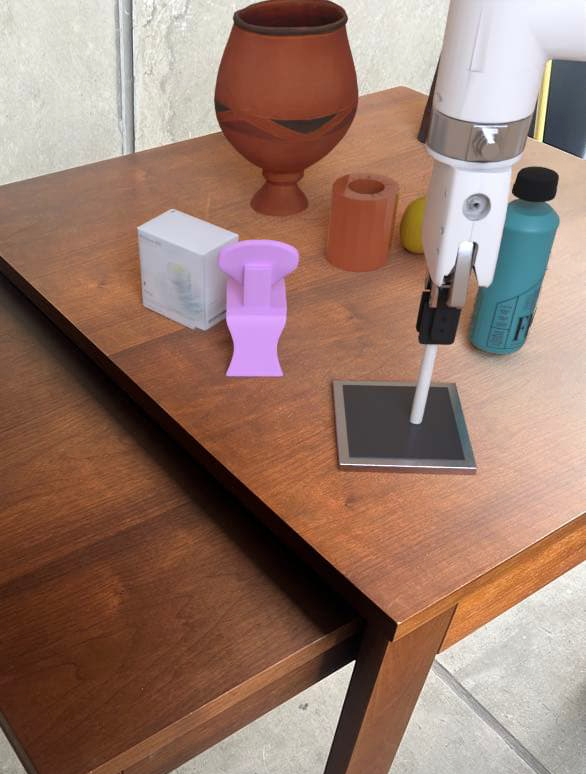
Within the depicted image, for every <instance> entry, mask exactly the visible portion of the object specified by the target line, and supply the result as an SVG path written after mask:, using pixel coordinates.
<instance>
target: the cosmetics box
mask: <svg viewBox="0 0 586 774" xmlns="http://www.w3.org/2000/svg"><path fill="white" fill-rule="evenodd" d="M136 229H137V231H136V233H137V241H138V243H137V244H138V253H139V269H140V281H141V283H140V284H141V296H142V307H145V308H146V309H148V310H151V311H153V312H155V313H157V314H159V315H161V316H163V317H165V318H167V319H169V320H172V321H174V322H176V323H178V324H180V325H181V326H184V327H185V328H188V329H190V330H192V331H195V330H196V328H197V329H199V330H202V331H207V330H209V329H210V328H212V327H214V326H215V325H217V324H218V323H220V322H222V321H224V320H226V308H227V279H233V278H231V277H230V276H229V275H227V274H225V273H224V272H222V271H221V269H220V268H219V265H218V253H219V252H220V250H221V249H223V248H224V247H226V246H228V245H230V244H233V243H236V242H240V235H239V234H238V233H235V232H233V231H232V230H228V229H226V228H223V227H220V226H217V225H215V224H213V223H211V222H208V221H205V220H203V219H200V218H198V217H195V216H193V215H190V214H188V213H185V212H183V211H180V210H178V209H176V208H170V209H168V210H167V211H164V212H163V213H161V214H159V215H157V216H155V217H153V218H152V219H150V220H148V221H146V222H144V223H143V224H141V225H139V226H137V228H136Z"/></svg>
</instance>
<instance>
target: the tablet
mask: <svg viewBox="0 0 586 774" xmlns="http://www.w3.org/2000/svg"><path fill="white" fill-rule="evenodd" d="M416 386H417V381H389V380H387V381H383V380H344V379H343V380H341V379H339V380H338V379H336V380H335V379H333V380H332V383H331V388H332V389H331V392H332V394H331V395H332V405H333V415H334V416H333V417H334V427H335V428H334V430H335V441H336V443H335V444H336V454H337V467H338V471H339V472H360V473H361V472H363V473H364V472H365V473H400V474H431V475H464V476H465V475H467V476H475V475H476V474H477V472H478V471H477V470H478V466H477V462H476V458H475V454H474V449H473V447H472V443H471V442H472V441H471V438H470V435H469V431H468V426H467V422H466V419H465V415H464V411H463V406H462V403H461V399H460V395H459V391H458V387H457V383H456V382H431V381H430V386H429V391H428V395H427V400H426V404H425V409H424V414H423V418H422V422H421V423H420V424H413V423H411V422H410V416H411V411H412V406H413V401H414V396H415V391H416Z"/></svg>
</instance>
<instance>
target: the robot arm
mask: <svg viewBox="0 0 586 774" xmlns="http://www.w3.org/2000/svg"><path fill="white" fill-rule="evenodd" d="M441 50H442V51H440V54H441V57H440V56H439V57H440V63H439V68H438V74H437V80H436V86H435V92H434V98H433V104H432V110H431V116H430V121H429V127H428V133H427V139H426V143H425V144H424V149H425V152H426V154H427V155H428V156H429V157H431V158H432V159H433V165H432V169H431V174H430V178H429V183H428V188H427V194H426V195H427V199H426V204H425V210H424V216H423V224H422V245H423V250H424V253H423V254H424V257H425V261H426V265H427V266H426V272H425V277H424V284H423V286H424V287H423V288H424V291H423V290H422V292H421V295H420V302H419V307H418V313H417V318H416V323H415V330H416V332H417V333H418V336H417V339H418V343H419V344H420V345H425V344H431V345H438V346H450V345H453V344H454V343H455V341H456V336H457V332H458V327H459V323H460V319H461V314H462V310H463V309H464V308H466V304H467V303H466V302H467V297H468V290H469V283H470V278H471V275H472V270H473V273H474V277H475V279H476V283H477V287H478V286H482V287H483V288H487V287H489V286H490V285H491V283H492V281H493V277H494V272H495V268H496V263H497V258H498V253H499V248H500V243H501V238H502V233H503V228H504V223H505V218H506V212H507V206H508V203H509V200H510V193H511V186H512V185H511V184H512V177H513V176H512V175H513V174H512V173H513V165H515V164H517V163H518V162H520V161H521V160H522V158H523V156H524V152H525V147H526V143H527V140H528V137H529V133H530V128H531V124H532V121H533V117H534V116H533V115H534V113H535V109H536V104H537V101H538V98H539V97H538V96H539V93H540V89H541V85H542V81H543V77H544V73H545V69H546V65H547V63H548V62H549V61H552V60H561V61H575V62H586V0H449V4H448V11H447V16H446V22H445V27H444V34H443V40H442V46H441ZM442 285H450V288H442V289H441V286H442ZM440 290H441V291H440Z"/></svg>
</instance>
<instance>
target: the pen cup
mask: <svg viewBox="0 0 586 774" xmlns="http://www.w3.org/2000/svg"><path fill="white" fill-rule="evenodd" d="M400 192H401V189H400V184H399V182H397V181H396V180H394V179H393V178H390V177H388V176H386V175H383V174H379V173H372V172H354V173H347V174H345V175H342V176H340V177H338V178H337V179H336V180H334V182H333V183H332V190H331V198H330V199H331V200H330V207H329V210H330V211H329V218H328V219H329V220H328V229H327V238H326V248H325V257H326V260H327V261H328V263H329V264H330V265H332V266H333V267H335V268H337V269H340V270H342V271H347V272H354V273H367V272H372V271H373V272H374V271H377V270H379V269H381V268H383V267H385V266H386V265H387V264H388V262H389V260H390V255H391V249H392V244H393V243H392V242H393V238H394V237H393V236H394V229H395V224H396V218H397V210H398V204H399V198H400Z"/></svg>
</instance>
